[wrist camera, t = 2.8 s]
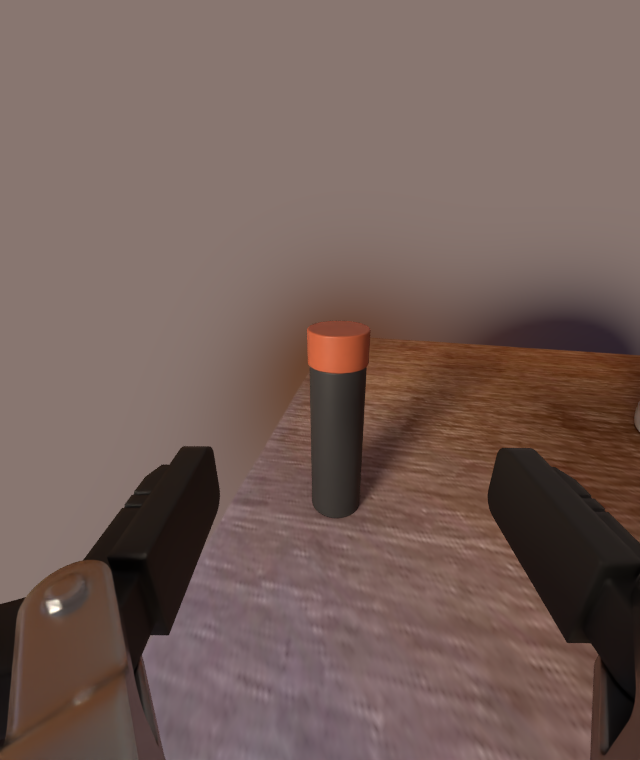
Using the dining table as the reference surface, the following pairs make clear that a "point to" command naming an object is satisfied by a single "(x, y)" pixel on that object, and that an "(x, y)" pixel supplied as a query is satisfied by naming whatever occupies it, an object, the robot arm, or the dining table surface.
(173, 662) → the dining table surface
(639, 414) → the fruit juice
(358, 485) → the marker
